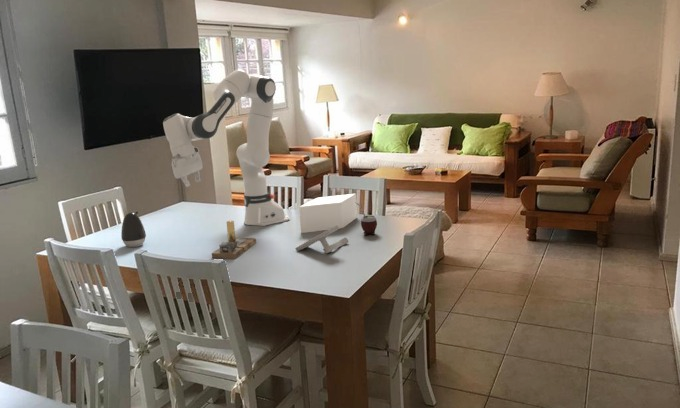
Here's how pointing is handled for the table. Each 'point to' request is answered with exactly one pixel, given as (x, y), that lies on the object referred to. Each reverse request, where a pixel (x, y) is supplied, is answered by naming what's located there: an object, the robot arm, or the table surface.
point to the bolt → (230, 234)
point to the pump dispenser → (132, 230)
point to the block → (328, 212)
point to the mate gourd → (368, 223)
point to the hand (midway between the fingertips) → (193, 184)
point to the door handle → (324, 241)
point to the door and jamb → (234, 248)
